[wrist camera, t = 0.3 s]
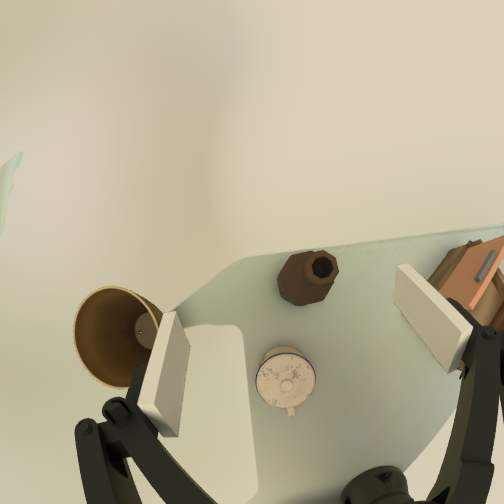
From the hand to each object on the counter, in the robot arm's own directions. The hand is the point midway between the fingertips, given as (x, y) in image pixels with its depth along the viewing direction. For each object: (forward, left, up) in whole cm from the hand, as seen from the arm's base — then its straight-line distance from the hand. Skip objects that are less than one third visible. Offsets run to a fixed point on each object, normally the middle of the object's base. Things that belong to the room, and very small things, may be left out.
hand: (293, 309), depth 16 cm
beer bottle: (0, -5, -36) cm, 36 cm away
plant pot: (+11, +21, -36) cm, 43 cm away
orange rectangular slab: (-18, -25, -27) cm, 41 cm away
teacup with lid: (-11, +8, -36) cm, 38 cm away
